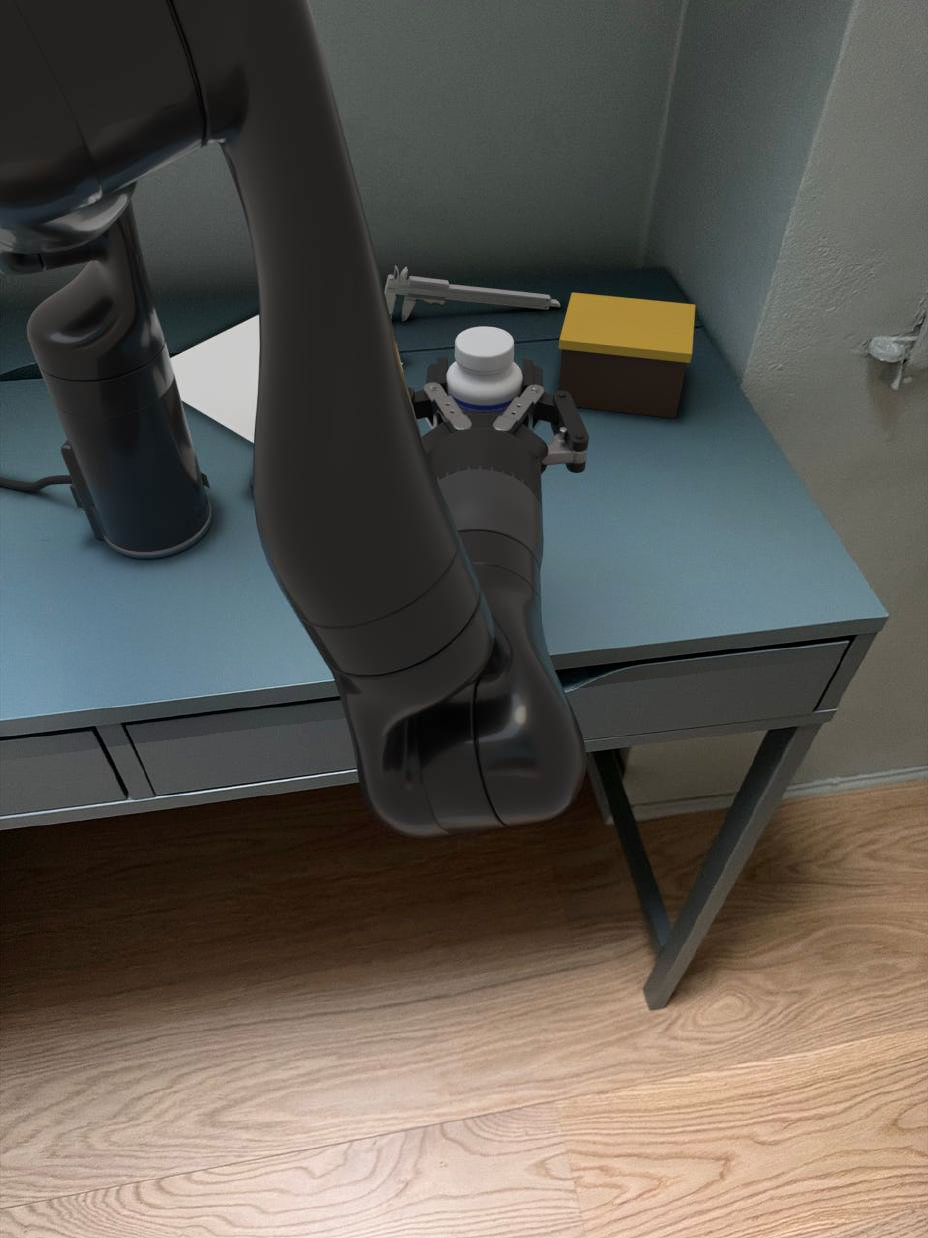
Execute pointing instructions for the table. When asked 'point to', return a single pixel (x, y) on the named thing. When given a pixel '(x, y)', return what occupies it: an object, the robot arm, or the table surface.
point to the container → (625, 353)
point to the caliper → (455, 294)
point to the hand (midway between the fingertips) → (484, 369)
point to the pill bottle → (484, 371)
